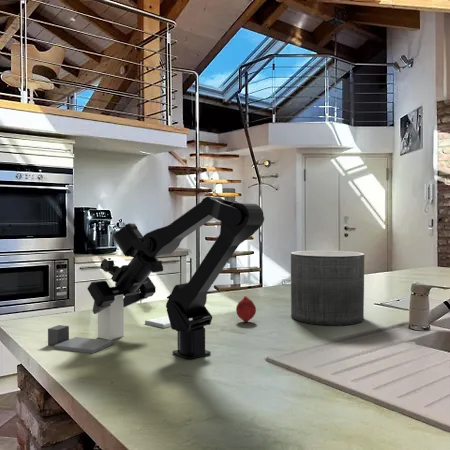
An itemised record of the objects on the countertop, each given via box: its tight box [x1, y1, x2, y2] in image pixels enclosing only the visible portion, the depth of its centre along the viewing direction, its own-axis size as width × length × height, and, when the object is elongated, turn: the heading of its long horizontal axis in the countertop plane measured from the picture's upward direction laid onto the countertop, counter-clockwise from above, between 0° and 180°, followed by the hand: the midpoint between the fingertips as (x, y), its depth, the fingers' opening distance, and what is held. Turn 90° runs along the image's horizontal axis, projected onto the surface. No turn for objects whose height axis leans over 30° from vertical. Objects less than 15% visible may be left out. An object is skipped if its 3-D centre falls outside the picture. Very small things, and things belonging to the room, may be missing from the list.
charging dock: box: [47, 324, 114, 354], centre depth 110 cm, size 14×8×4 cm, turn 70°
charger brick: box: [97, 295, 125, 341], centre depth 118 cm, size 5×5×12 cm
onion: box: [235, 294, 257, 323], centre depth 135 cm, size 6×6×8 cm
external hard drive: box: [144, 315, 193, 329], centre depth 135 cm, size 2×8×12 cm
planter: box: [290, 250, 365, 327], centre depth 140 cm, size 22×22×20 cm
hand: (107, 309), depth 119 cm, fingers open, 9 cm apart
